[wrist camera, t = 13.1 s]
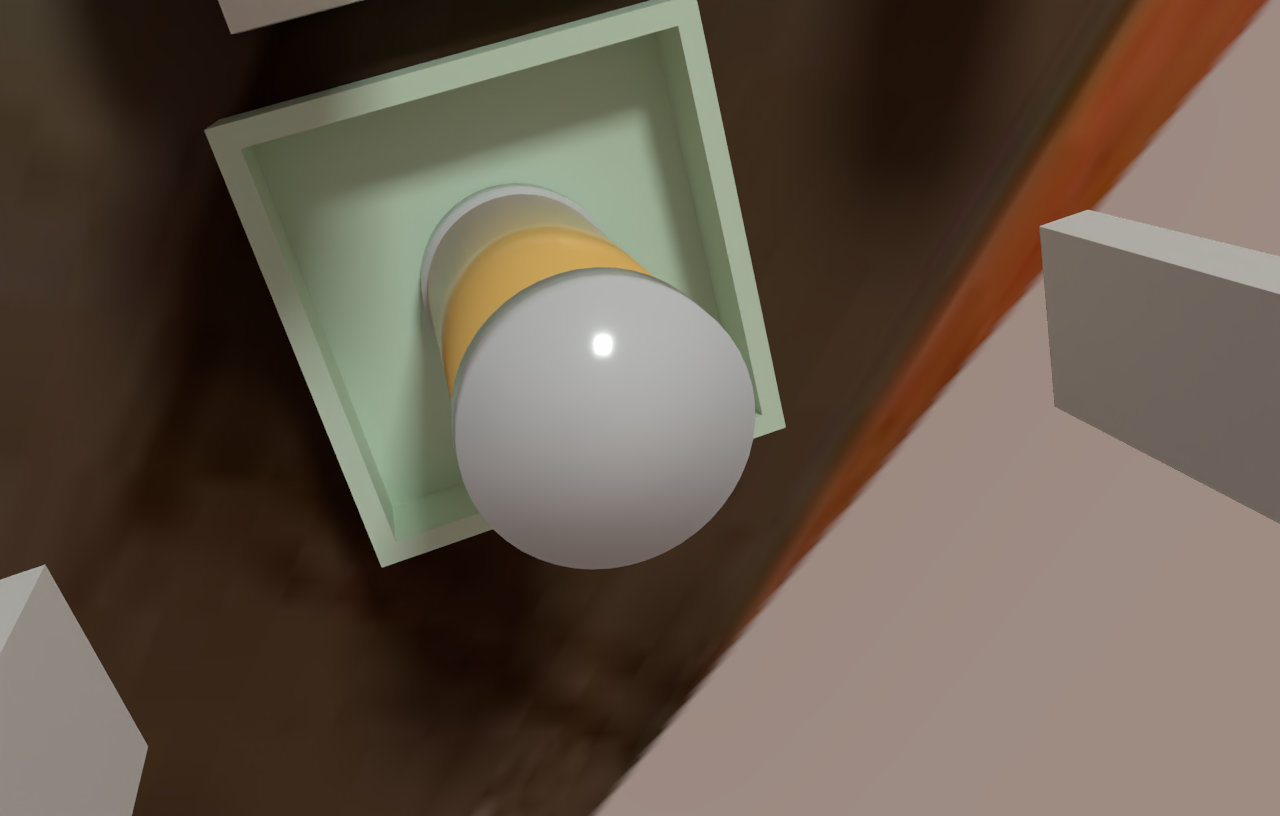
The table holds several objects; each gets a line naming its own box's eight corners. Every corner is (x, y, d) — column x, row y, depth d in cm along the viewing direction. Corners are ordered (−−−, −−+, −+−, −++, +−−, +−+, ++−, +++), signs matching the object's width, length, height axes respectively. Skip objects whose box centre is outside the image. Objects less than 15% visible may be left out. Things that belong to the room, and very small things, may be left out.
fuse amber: (392, 215, 23) (411, 339, 14) (582, 159, 23) (720, 242, 14) (455, 394, 25) (509, 609, 15) (629, 337, 25) (780, 512, 16)
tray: (379, 520, 26) (381, 567, 24) (219, 119, 22) (204, 130, 20) (749, 393, 27) (785, 427, 25) (662, -3, 23) (695, -7, 21)
